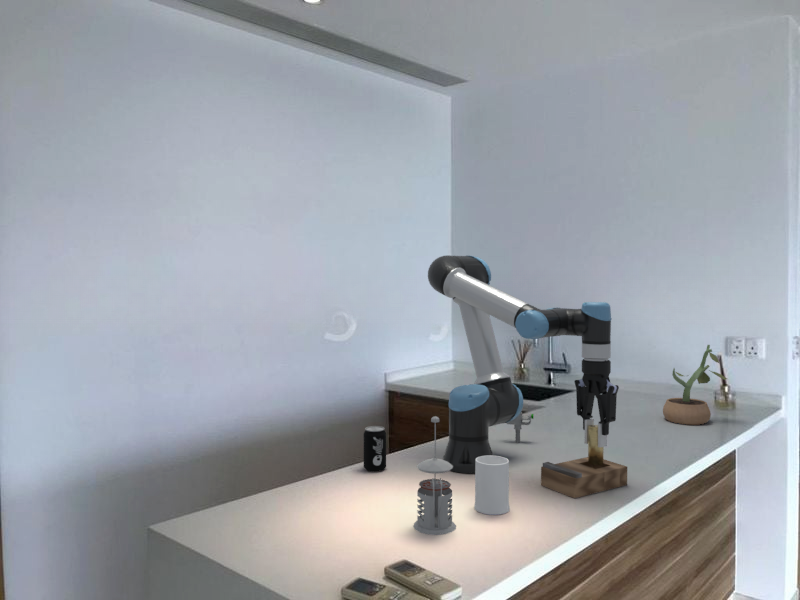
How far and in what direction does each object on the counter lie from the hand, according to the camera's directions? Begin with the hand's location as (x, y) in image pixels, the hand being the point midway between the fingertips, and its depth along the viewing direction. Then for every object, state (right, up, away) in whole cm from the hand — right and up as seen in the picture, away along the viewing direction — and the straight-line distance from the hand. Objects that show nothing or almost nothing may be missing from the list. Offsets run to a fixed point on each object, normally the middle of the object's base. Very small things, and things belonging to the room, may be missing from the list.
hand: (595, 444), depth 177 cm
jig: (-4, -11, -1) cm, 11 cm away
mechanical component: (-13, -9, +43) cm, 46 cm away
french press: (-45, -12, -31) cm, 56 cm away
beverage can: (-61, -10, +13) cm, 63 cm away
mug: (-30, -12, -18) cm, 37 cm away
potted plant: (+60, -8, +73) cm, 95 cm away
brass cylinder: (0, -5, 0) cm, 5 cm away
